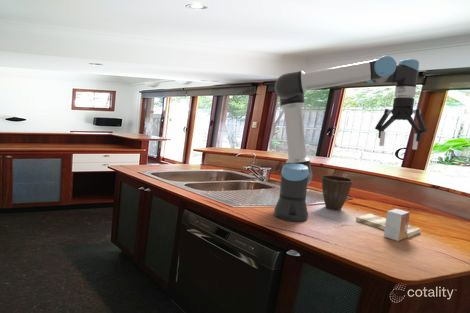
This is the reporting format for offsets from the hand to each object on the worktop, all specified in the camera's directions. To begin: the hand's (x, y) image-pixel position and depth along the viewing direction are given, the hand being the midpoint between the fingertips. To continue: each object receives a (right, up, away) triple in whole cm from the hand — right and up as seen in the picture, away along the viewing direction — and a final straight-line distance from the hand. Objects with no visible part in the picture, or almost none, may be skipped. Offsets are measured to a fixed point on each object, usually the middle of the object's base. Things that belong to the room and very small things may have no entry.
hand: (397, 147), depth 124 cm
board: (-4, -35, +2) cm, 35 cm away
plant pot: (-19, -31, +25) cm, 44 cm away
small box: (-7, -36, -11) cm, 38 cm away
